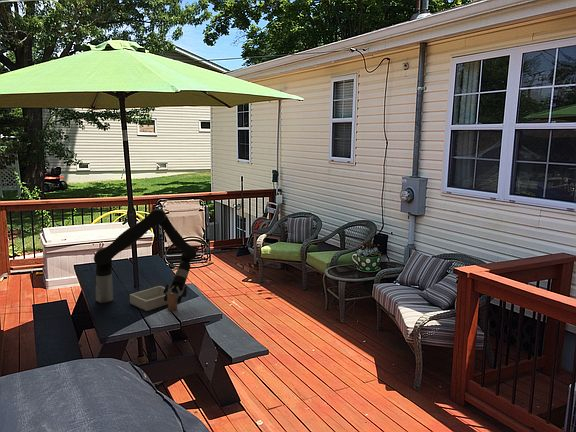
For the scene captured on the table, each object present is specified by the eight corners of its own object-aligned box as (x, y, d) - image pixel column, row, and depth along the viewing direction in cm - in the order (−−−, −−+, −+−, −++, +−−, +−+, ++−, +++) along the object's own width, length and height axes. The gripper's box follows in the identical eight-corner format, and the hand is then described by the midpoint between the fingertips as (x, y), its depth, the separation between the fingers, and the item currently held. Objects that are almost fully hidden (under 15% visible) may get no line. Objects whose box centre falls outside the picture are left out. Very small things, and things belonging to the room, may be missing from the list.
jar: (171, 311, 273) (170, 295, 271) (165, 309, 276) (165, 293, 274) (179, 309, 277) (178, 293, 275) (173, 306, 280) (173, 291, 278)
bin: (146, 311, 273) (146, 301, 272) (130, 303, 284) (129, 294, 283) (177, 301, 290) (176, 292, 288) (160, 294, 301) (160, 285, 300)
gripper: (167, 273, 282) (158, 297, 274) (188, 276, 279) (179, 300, 270) (172, 279, 288) (163, 303, 280) (193, 281, 285) (184, 305, 276)
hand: (171, 301), depth 275 cm, fingers open, 8 cm apart
